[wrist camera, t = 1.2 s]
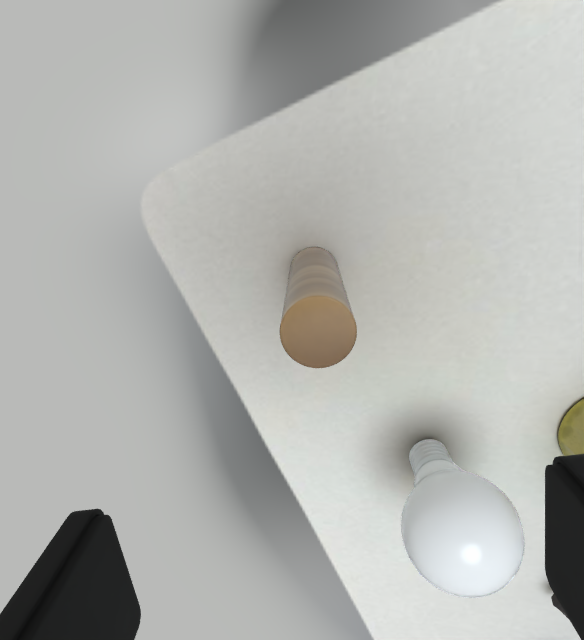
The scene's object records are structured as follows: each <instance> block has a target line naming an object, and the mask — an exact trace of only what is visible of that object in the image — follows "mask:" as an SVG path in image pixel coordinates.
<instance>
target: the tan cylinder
mask: <svg viewBox="0 0 584 640" xmlns="http://www.w3.org/2000/svg"><path fill="white" fill-rule="evenodd" d="M356 335H357V327H356V322H355V319H354V316H353V313H352V310H351V306H350V303H349V300H348V297H347V294H346V291H345V288H344V285H343V281H342V278H341V275H340V272H339V269H338V266H337V263H336V260H335V258H334V257H333V256H332V254H331V253H329V252H328V251H327V250H325V249H323V248H319V247H309V248H306V249H303V250H302V251H300V252H299V253H298V254H297V255H296V256H295V257H294V259H293V260H292V263H291V266H290V272H289V278H288V284H287V290H286V296H285V302H284V308H283V313H282V319H281V325H280V339H281V343H282V345H283V347H284V349H285V351H286V352H287V354H288V355H289V356H290V357H291V358H292V359H293V360H295V361H296V362H298V363H299V364H302V365H304V366H307V367H312V368H324V367H329V366H332V365H334V364H337V363H338V362H340V361H342V360H343V359H344V358H345V357H346V356H347V355H348V354H349V353H350V351H351V350H352V348H353V346H354V344H355V341H356Z"/></svg>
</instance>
